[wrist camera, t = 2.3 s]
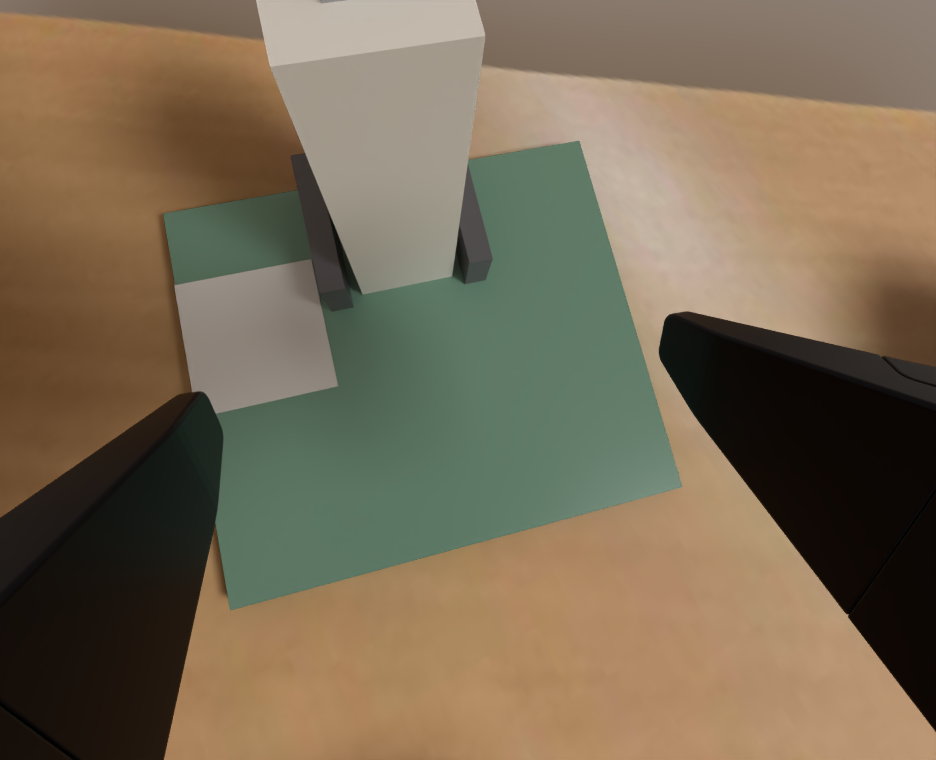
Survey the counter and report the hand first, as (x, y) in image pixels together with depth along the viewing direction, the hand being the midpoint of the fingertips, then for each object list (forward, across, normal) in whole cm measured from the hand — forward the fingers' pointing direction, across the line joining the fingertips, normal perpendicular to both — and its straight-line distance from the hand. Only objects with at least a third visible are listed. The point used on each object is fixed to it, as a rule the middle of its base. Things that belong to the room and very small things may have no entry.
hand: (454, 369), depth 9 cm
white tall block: (+15, 0, +2) cm, 15 cm away
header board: (+12, 0, +6) cm, 13 cm away
